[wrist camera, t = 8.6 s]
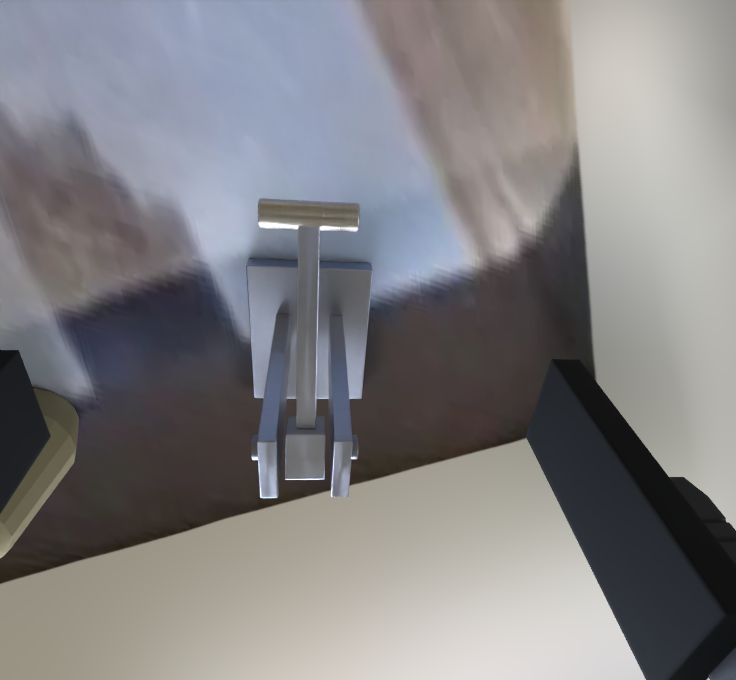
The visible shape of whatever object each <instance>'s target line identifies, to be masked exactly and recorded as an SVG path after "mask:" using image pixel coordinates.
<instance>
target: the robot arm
mask: <svg viewBox="0 0 736 680" xmlns="http://www.w3.org/2000/svg"><path fill="white" fill-rule="evenodd" d="M50 437H51V435H50V433H49V430H48V427H47V424H46V422H45V419H44V416H43V414H42V411H41V408H40V406H39V403H38V400H37V398H36V395H35V392H34V390H33V387H32V384H31V382H30V379H29V376H28V374H27V371H26V368H25V366H24V363H23V360H22V358H21V355H20V352H19V350H0V514H1V512H2V511H3V509H4V508H5V506H6V505H7V503H8V502H9V500H10V499H11V497H12V495H13V494H14V492H15V491H16V489H17V488H18V486H19V485H20V483H21V482H22V480H23V479H24V477H25V475H26V474H27V472H28V471H29V469H30V468H31V466H32V465H33V463H34V462H35V460H36V459H37V457H38V456H39V454H40V452H41V451H42V449H43V448H44V446H45V445H46V443H47V442H48V440H49V439H50ZM526 438H527V440H528V442H529V444H530V446H531V448H532V450H533V452H534V454H535V456H536V458H537V460H538V462H539V464H540V466H541V468H542V470H543V472H544V474H545V476H546V478H547V480H548V482H549V484H550V486H551V488H552V490H553V492H554V494H555V496H556V498H557V500H558V502H559V504H560V506H561V508H562V510H563V512H564V514H565V517H566V519H567V521H568V523H569V525H570V527H571V528H572V531H573V533H574V535H575V537H576V539H577V541H578V543H579V545H580V547H581V549H582V551H583V553H584V555H585V557H586V559H587V561H588V563H589V565H590V567H591V569H592V571H593V573H594V575H595V577H596V579H597V581H598V583H599V585H600V587H601V589H602V591H603V593H604V595H605V597H606V599H607V602H608V603H609V606H610V607H611V609H612V612H613V614H614V616H615V618H616V620H617V622H618V624H619V626H620V628H621V630H622V632H623V634H624V636H625V638H626V640H627V642H628V644H629V646H630V648H631V650H632V652H633V654H634V656H635V658H636V660H637V662H638V664H639V666H640V668H641V670H642V672H643V674H644V676H645V678H646V680H706V679H707V678H708V677H709V679H710V680H736V530H735V529H734V528H733V527H732V525H731V524H730V523H727V522H726V520H725V519H726V518H725V517H724V516H723V515H722V513H721V512H720V511H719V510H718V508H717V507H716V506H715V504H714V503H713V502H712V501H711V500H710V498H709V497H708V496H707V495H706V494H704V493H703V492H702V491H700V490H699V489H698V488H696V487H695V486H694V485H693V484H692V483H690V482H689V481H688V480H686V479H685V478H684V477H668V475H667V474H666V473H665V471H664V470H663V469H662V467H661V466H660V465H659V463H658V462H657V461H656V460H655V458H654V457H653V456H652V454H651V453H650V452H649V450H648V449H647V448H646V447H645V445H644V444H643V443H642V441H641V440H640V439H639V437H638V436H637V435H636V433H635V432H634V431H633V429H632V428H631V427H630V426H629V424H628V423H627V422H626V420H625V419H624V418H623V416H622V415H621V414H620V412H619V411H618V410H617V409H616V407H615V406H614V405H613V403H612V402H611V401H610V399H609V398H608V397H607V395H606V394H605V393H604V392H603V390H602V389H601V388H600V386H599V385H598V384H597V382H596V381H595V380H594V378H593V377H592V376H591V375H590V373H589V372H588V371H587V369H586V368H585V367H584V365H583V364H582V363H581V361H580V360H561V359H552V360H551V363H550V366H549V369H548V372H547V375H546V378H545V381H544V384H543V387H542V389H541V392H540V395H539V398H538V401H537V404H536V407H535V410H534V413H533V416H532V419H531V422H530V425H529V428H528V430H527V433H526Z"/></svg>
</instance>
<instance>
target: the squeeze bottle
mask: <svg viewBox="0 0 736 680" xmlns="http://www.w3.org/2000/svg"><path fill="white" fill-rule="evenodd" d="M33 390H34V392H35V395H36V398H37V400H38V403H39V406H40V408H41V411H42V414H43V416H44V419H45V422H46V424H47V427H48V430H49V433H50V435H51V437H50V439H49V440H48V442H47V443H46V445H45V446H44V448H43V449H42V451H41V452H40V454H39V456H38V457H37V459H36V460H35V462H34V463H33V465H32V466H31V468H30V469H29V471H28V472H27V474H26V475H25V477H24V479H23V480H22V482H21V483H20V485H19V486H18V488H17V489H16V491H15V492H14V494H13V495H12V497H11V499H10V500H9V502H8V503H7V505H6V506H5V508H4V509H3V511H2V512H1V514H0V558H1V557H3V556H4V555H5V554H6V553H7V552H8V551H9V550H10V548H11V547H12V546H13V545H14V543H15V542H16V540H17V539H18V538H19V536H20V535H21V534H22V532H23V531H24V530H25V528H26V527H27V526H28V524H29V523H30V522H31V520H32V519H33V517H34V516H35V515H36V513H37V512H38V511H39V509H40V508H41V507H42V505H43V504H44V503H45V501H46V500H47V499H48V497H49V496H50V494H51V493H52V492H53V490H54V489H55V488H56V486H57V485H58V484H59V482H60V481H61V480H62V478H63V477H64V475H65V474H66V473H67V471H68V470H69V469H70V467H71V466H72V465H73V463H74V460H75V454H76V446H77V436H78V425H79V417H78V415H77V413H76V410H75V408H74V407H73V406H72V405H71V404H70V403H69V402H68V401H67V400H66V399H64V398H62V397H60V396H59V395H57V394H55V393H53V392H50V391H46V390H42V389H37V388H33Z"/></svg>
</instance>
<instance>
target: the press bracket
mask: <svg viewBox="0 0 736 680" xmlns="http://www.w3.org/2000/svg"><path fill="white" fill-rule="evenodd" d="M246 269H247V285H248V302H249V318H250V334H251V350H252V366H253V382H254V397H255V398H263V405H262V411H261V418H260V424H259V431H258V435H254V436H253V438H252V449H251V454H252V460H258V468H259V484H260V497H261V498H277V497H278V492H279V481H280V470H281V459H282V447H283V436H284V425H285V414H286V403H287V398H296V388H297V291H298V261H296V260H269V259H248V262H247V266H246ZM372 274H373V269H372V265H371V263H350V262H323V261H319V305H318V350H317V396H316V398H329V432H330V475H331V496H332V497H347V496H348V492H349V481H350V469H351V459H357V458H358V436H357V435H352V426H351V413H350V401H349V399H361V398H362V387H363V376H364V365H365V353H366V342H367V331H368V319H369V308H370V297H371V285H372Z"/></svg>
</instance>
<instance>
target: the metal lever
mask: <svg viewBox="0 0 736 680" xmlns="http://www.w3.org/2000/svg"><path fill="white" fill-rule="evenodd" d="M359 219H360V207H359V204H358V203H339V202H319V201H299V200H280V199H259V202H258V223H259V227H260V228H270V229H293V230H298V291H297V388H296V417H288V420H287V427H286V434H285V479H286V480H297V479H324V478H325V445H326V428H325V417H316V396H317V350H318V305H319V259H320V231H338V232H358V230H359Z"/></svg>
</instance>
